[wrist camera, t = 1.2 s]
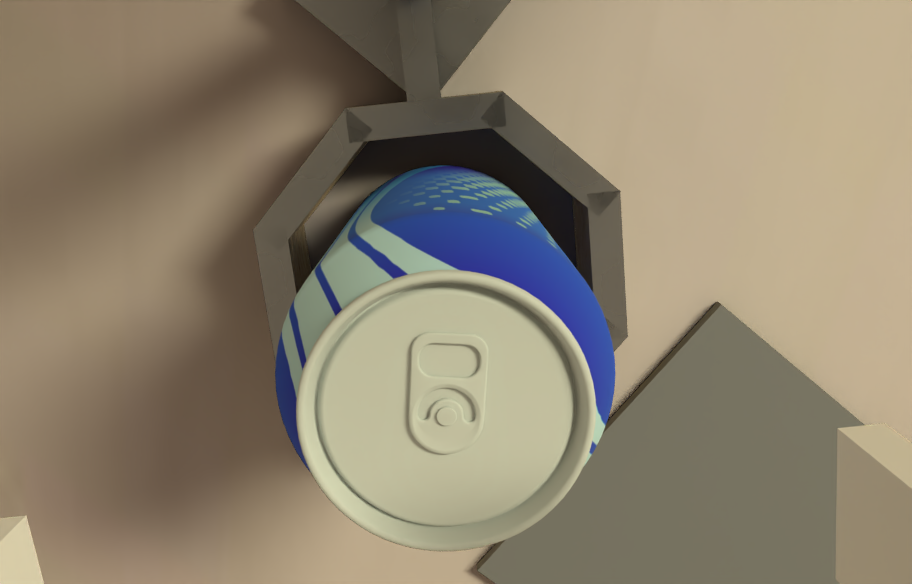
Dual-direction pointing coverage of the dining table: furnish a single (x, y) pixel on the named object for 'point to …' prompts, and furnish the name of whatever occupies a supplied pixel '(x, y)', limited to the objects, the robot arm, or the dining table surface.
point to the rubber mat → (698, 478)
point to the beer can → (445, 364)
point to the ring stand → (422, 77)
